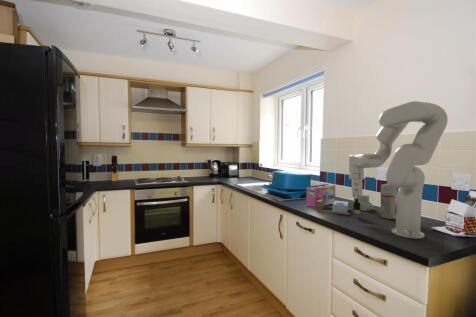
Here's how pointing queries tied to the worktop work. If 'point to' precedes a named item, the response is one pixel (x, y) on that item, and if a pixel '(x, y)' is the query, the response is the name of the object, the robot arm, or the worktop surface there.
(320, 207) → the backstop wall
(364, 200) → the air freshener
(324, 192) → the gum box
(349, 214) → the track board
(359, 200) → the dowel
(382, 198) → the spray can
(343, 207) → the block
